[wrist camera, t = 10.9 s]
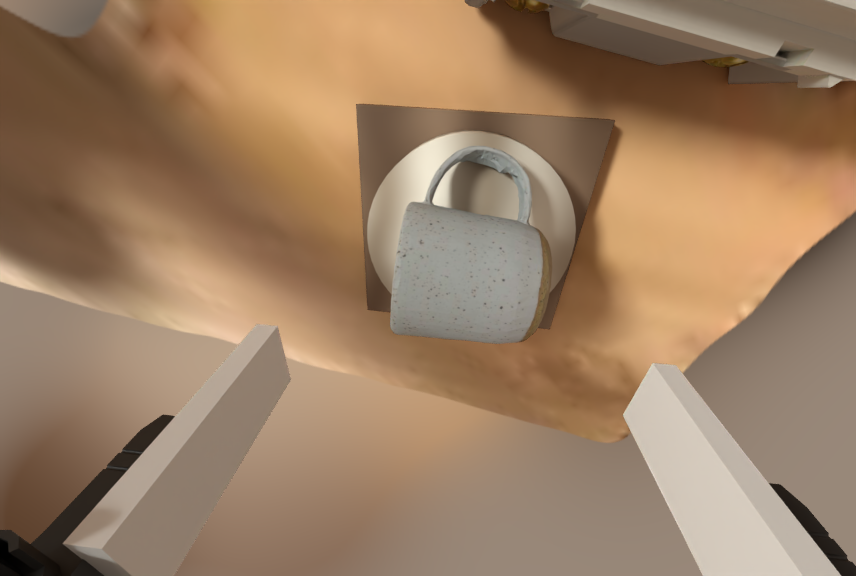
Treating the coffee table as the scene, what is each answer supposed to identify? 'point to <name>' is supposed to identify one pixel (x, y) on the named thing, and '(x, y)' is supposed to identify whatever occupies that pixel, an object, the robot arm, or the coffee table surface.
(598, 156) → the pedestal
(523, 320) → the ceramic mug
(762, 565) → the robot arm
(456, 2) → the coffee table surface
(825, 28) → the electrical outlet
